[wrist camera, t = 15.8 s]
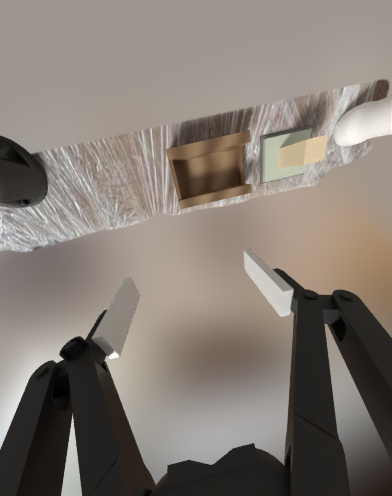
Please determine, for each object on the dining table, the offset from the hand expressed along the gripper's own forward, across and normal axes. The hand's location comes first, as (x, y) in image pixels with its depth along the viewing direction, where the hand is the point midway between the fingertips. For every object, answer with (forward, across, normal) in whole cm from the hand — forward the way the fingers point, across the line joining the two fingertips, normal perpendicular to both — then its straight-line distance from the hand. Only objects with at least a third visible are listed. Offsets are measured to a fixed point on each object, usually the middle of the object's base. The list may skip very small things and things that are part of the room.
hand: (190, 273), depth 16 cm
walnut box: (+29, +9, +10) cm, 32 cm away
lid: (+28, +31, +10) cm, 43 cm away
